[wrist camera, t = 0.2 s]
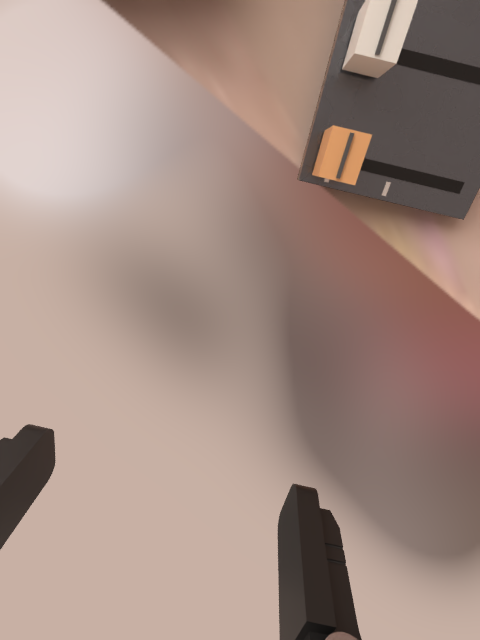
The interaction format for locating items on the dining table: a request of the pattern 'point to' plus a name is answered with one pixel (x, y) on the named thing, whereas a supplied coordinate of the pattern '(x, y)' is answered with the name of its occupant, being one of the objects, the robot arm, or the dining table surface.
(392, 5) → the fader white
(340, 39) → the console
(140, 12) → the dining table surface
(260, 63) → the dining table surface
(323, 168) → the fader orange
